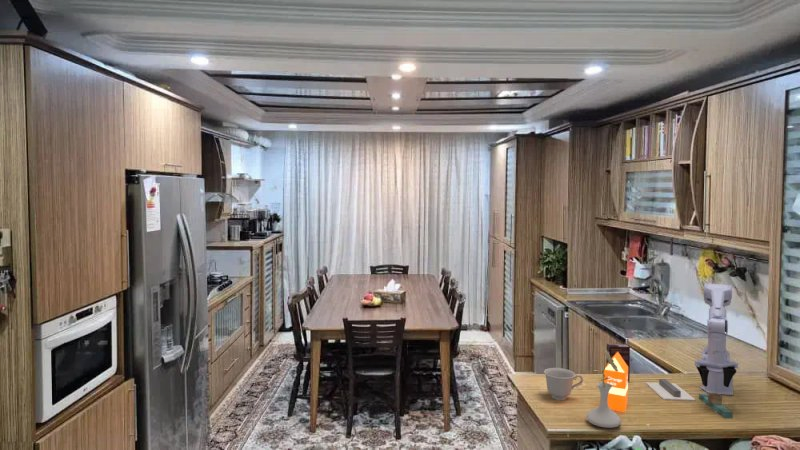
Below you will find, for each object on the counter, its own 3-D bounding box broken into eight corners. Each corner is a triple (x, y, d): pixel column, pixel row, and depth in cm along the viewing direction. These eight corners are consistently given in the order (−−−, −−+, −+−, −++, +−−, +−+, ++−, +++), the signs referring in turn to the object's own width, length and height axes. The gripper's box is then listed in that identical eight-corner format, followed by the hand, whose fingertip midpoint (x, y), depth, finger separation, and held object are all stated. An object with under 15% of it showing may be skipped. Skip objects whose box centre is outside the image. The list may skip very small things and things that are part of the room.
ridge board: (674, 384, 214) (675, 377, 214) (695, 401, 196) (696, 393, 196) (645, 383, 215) (645, 376, 215) (663, 399, 197) (663, 392, 197)
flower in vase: (619, 434, 168) (621, 360, 166) (583, 426, 173) (585, 354, 172) (623, 419, 179) (625, 350, 178) (589, 412, 184) (591, 345, 183)
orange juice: (627, 404, 193) (629, 352, 192) (624, 412, 185) (626, 358, 184) (605, 399, 197) (607, 349, 196) (602, 407, 189) (603, 355, 188)
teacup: (585, 405, 191) (585, 379, 191) (544, 402, 194) (545, 376, 194) (580, 393, 203) (580, 369, 203) (542, 390, 206) (542, 366, 206)
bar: (698, 399, 199) (699, 385, 199) (706, 399, 199) (707, 386, 198) (723, 418, 181) (724, 403, 181) (732, 419, 181) (732, 404, 180)
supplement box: (625, 379, 220) (626, 343, 219) (629, 383, 215) (630, 346, 215) (605, 378, 221) (606, 343, 220) (608, 382, 216) (609, 346, 215)
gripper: (701, 352, 186) (700, 389, 186) (743, 354, 184) (742, 390, 185) (692, 347, 193) (691, 382, 193) (732, 348, 191) (731, 383, 192)
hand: (715, 385), depth 189 cm, fingers open, 7 cm apart
